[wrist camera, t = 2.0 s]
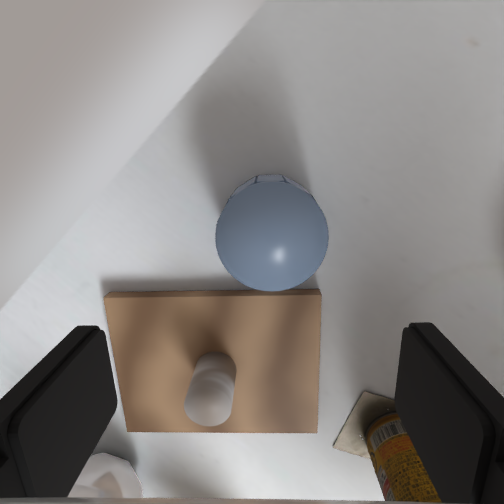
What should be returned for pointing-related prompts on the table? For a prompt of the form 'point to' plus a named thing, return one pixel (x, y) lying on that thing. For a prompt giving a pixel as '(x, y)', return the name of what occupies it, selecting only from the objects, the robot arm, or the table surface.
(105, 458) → the potion bottle
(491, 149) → the table surface
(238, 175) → the table surface
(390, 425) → the condiment
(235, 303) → the post base
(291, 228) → the cap
